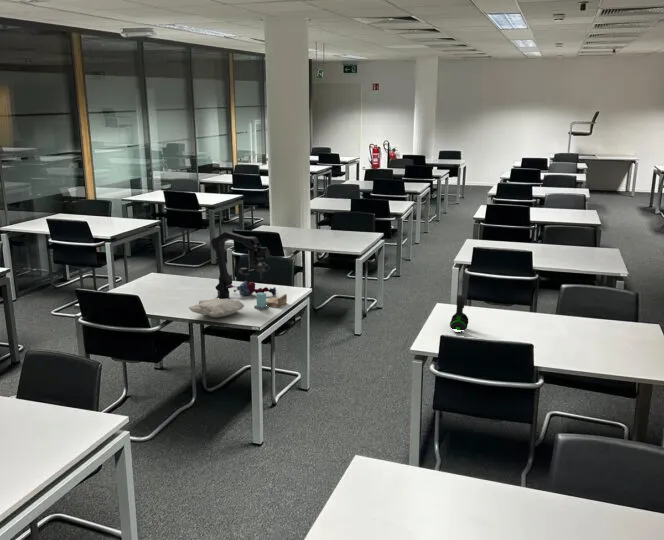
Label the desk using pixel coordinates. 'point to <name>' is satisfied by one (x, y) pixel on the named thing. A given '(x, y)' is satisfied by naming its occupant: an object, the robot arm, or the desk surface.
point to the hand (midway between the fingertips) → (255, 282)
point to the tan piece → (277, 301)
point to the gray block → (261, 308)
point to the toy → (252, 289)
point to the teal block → (261, 299)
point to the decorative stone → (217, 307)
